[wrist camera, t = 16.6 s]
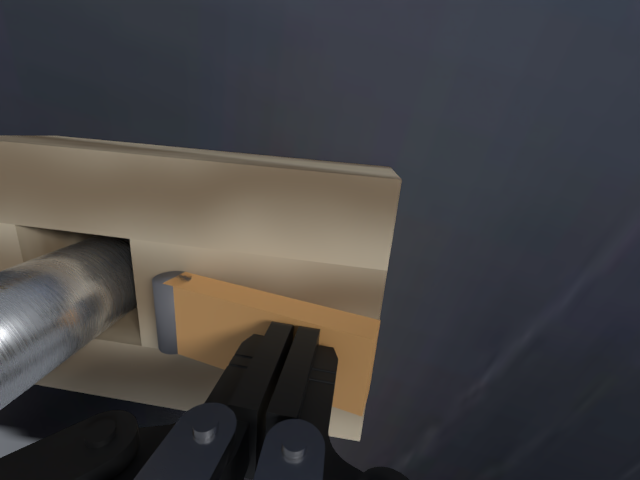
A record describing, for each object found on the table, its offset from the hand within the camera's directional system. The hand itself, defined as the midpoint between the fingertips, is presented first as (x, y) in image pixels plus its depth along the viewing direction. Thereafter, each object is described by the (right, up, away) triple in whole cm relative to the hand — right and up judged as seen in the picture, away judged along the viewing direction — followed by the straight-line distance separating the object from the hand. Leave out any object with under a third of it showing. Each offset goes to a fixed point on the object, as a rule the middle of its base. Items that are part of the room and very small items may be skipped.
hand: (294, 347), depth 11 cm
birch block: (-5, +3, +8) cm, 10 cm away
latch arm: (-1, 0, +2) cm, 2 cm away
